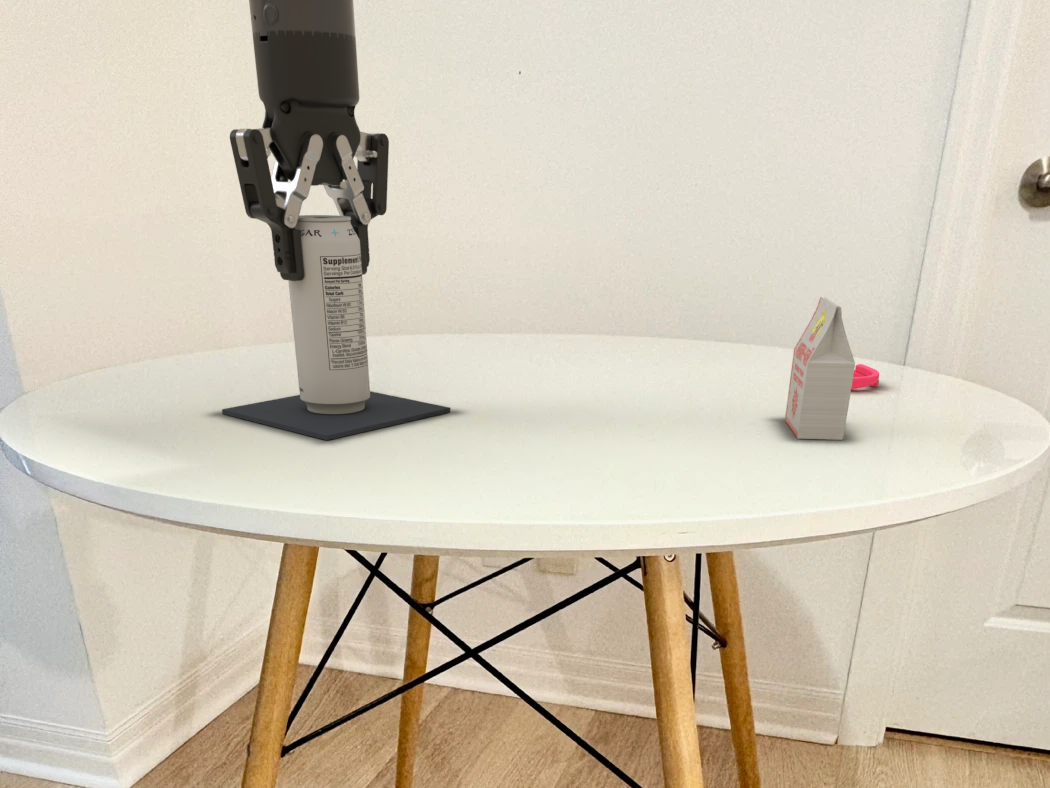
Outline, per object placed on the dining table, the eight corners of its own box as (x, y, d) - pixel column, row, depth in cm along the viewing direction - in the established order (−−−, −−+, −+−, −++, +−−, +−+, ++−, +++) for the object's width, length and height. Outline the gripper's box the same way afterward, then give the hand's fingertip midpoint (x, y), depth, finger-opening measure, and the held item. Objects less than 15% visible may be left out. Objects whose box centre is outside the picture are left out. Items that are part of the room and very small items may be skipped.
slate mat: (326, 440, 79) (326, 435, 79) (222, 413, 87) (221, 409, 87) (450, 412, 89) (450, 407, 88) (346, 390, 96) (345, 386, 96)
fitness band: (888, 390, 100) (891, 374, 99) (833, 392, 99) (836, 375, 98) (852, 375, 106) (854, 360, 106) (800, 376, 106) (802, 361, 105)
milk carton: (827, 421, 87) (846, 297, 82) (843, 439, 81) (864, 307, 77) (784, 419, 88) (800, 296, 83) (797, 438, 82) (815, 306, 77)
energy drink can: (338, 398, 91) (323, 214, 84) (385, 407, 88) (373, 217, 81) (286, 408, 87) (265, 216, 80) (333, 419, 84) (316, 219, 77)
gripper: (345, 42, 81) (360, 268, 89) (190, 24, 71) (223, 280, 80) (409, 37, 77) (419, 274, 85) (254, 17, 67) (282, 287, 76)
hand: (324, 276), depth 82 cm, fingers closed on energy drink can, 6 cm apart
